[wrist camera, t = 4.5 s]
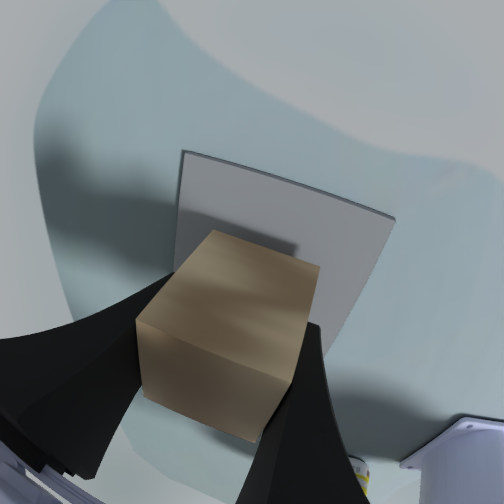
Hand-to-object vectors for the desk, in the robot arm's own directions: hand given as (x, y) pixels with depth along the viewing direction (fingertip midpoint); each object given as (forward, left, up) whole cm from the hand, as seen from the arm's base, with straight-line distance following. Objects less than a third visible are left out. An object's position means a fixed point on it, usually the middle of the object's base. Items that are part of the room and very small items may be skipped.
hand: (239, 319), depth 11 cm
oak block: (0, 0, -2) cm, 2 cm away
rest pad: (0, 0, -3) cm, 3 cm away
